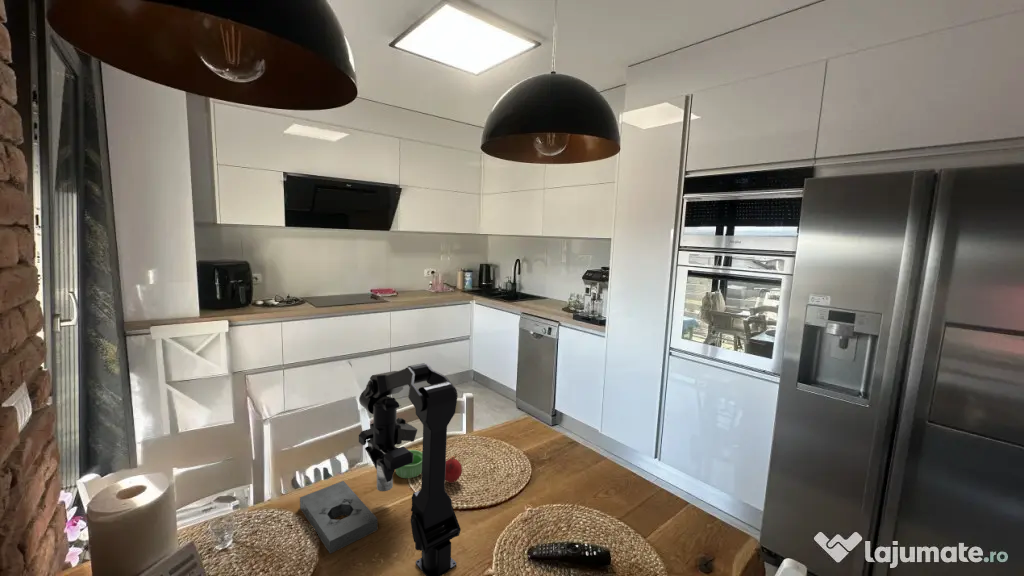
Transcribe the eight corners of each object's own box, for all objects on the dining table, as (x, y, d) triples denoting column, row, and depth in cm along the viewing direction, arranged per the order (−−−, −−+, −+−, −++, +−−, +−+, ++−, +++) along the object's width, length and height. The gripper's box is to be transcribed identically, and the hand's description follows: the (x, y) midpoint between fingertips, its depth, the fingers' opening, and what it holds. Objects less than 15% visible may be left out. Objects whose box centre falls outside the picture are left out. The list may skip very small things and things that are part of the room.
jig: (377, 530, 96) (377, 518, 96) (330, 553, 89) (329, 541, 88) (343, 490, 110) (343, 480, 110) (300, 508, 103) (299, 497, 102)
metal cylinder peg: (395, 487, 106) (395, 458, 105) (381, 493, 103) (381, 463, 102) (388, 480, 109) (388, 452, 108) (374, 486, 106) (374, 457, 105)
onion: (457, 490, 113) (458, 463, 112) (438, 487, 114) (438, 460, 113) (464, 478, 119) (464, 452, 118) (445, 475, 120) (446, 450, 119)
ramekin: (416, 460, 128) (416, 446, 127) (430, 473, 121) (430, 459, 120) (389, 469, 122) (389, 455, 121) (401, 483, 115) (401, 469, 115)
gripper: (432, 424, 103) (431, 481, 105) (395, 401, 116) (395, 452, 118) (391, 437, 95) (391, 499, 97) (357, 411, 108) (357, 466, 110)
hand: (384, 477), depth 105 cm, fingers closed on metal cylinder peg, 4 cm apart
